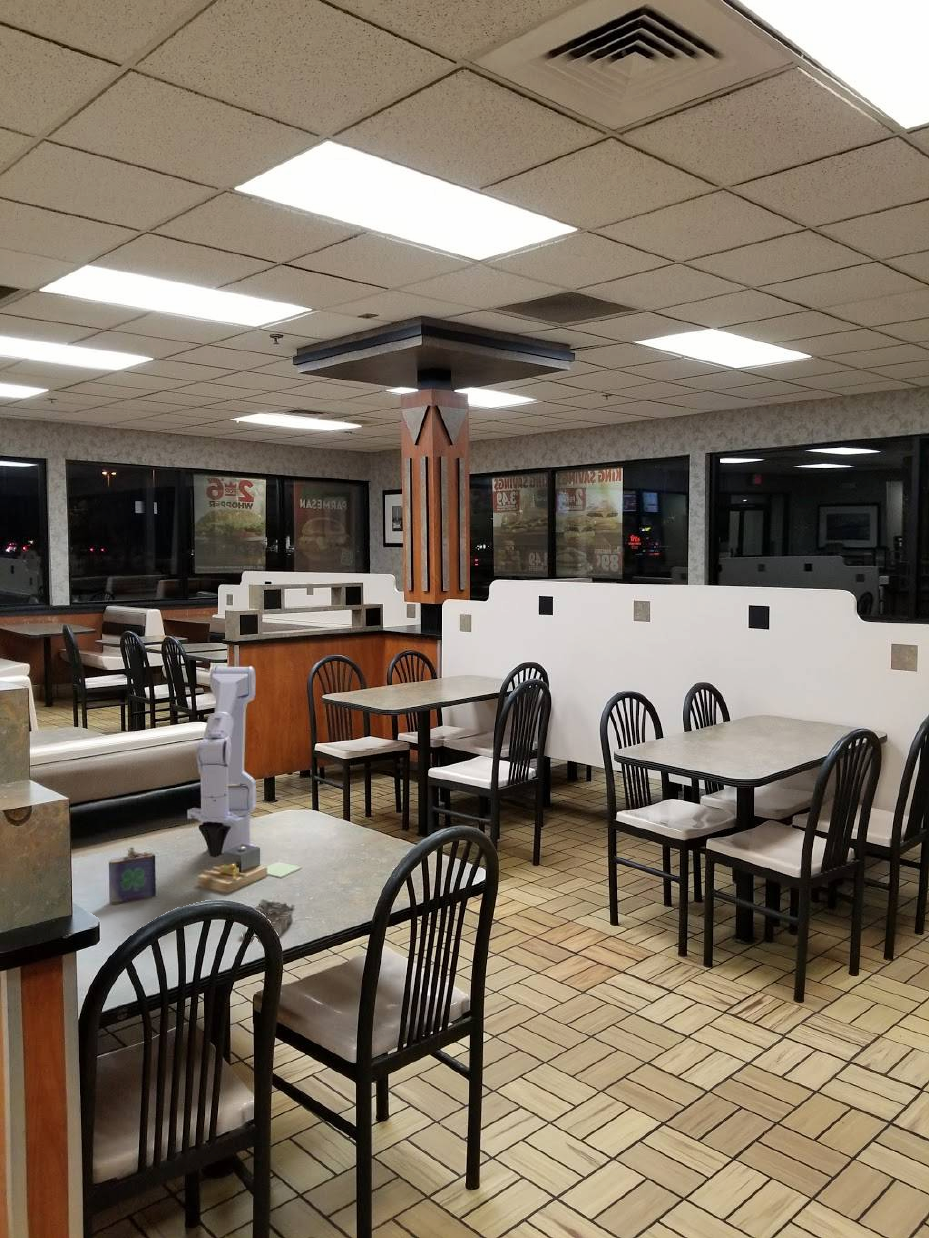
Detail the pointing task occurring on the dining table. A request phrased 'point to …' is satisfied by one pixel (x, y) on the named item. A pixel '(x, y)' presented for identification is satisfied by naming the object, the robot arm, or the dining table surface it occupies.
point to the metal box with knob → (243, 857)
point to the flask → (132, 877)
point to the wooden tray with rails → (230, 879)
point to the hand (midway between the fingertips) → (215, 855)
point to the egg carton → (276, 914)
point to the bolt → (230, 870)
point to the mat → (281, 869)
